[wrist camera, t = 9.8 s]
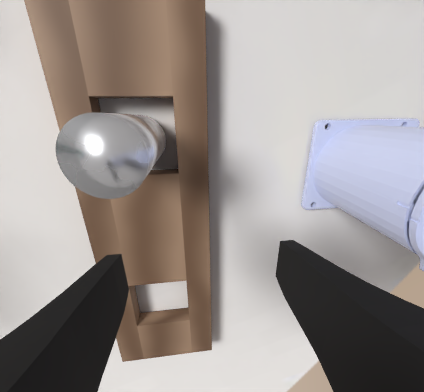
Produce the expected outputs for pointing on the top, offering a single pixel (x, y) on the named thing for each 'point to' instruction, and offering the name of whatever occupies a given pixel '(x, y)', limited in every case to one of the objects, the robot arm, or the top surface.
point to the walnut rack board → (156, 179)
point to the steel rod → (109, 152)
